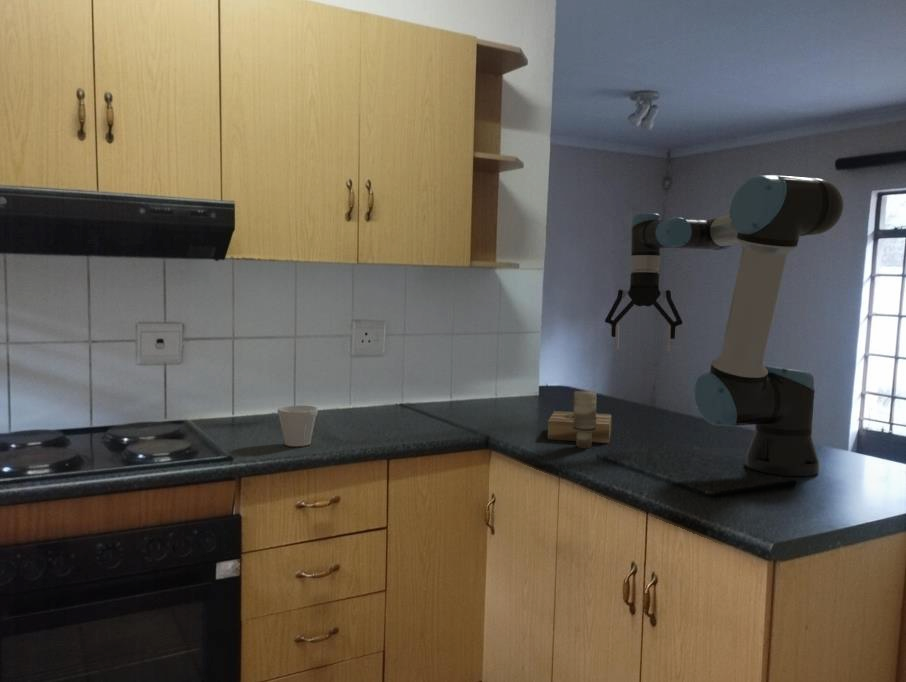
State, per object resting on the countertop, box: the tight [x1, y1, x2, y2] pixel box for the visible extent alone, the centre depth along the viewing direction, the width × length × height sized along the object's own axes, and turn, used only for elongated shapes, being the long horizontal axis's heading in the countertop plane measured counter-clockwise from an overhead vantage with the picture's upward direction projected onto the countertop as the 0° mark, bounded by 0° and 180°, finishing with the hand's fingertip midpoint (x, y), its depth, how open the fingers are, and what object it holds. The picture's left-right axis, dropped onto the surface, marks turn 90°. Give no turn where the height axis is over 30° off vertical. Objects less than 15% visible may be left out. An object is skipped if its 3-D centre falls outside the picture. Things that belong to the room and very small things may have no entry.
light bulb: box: [573, 390, 598, 449], centre depth 182 cm, size 6×6×14 cm
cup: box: [277, 405, 319, 448], centre depth 180 cm, size 10×10×9 cm
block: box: [547, 410, 612, 444], centre depth 195 cm, size 15×16×5 cm
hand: (642, 350), depth 194 cm, fingers open, 13 cm apart
